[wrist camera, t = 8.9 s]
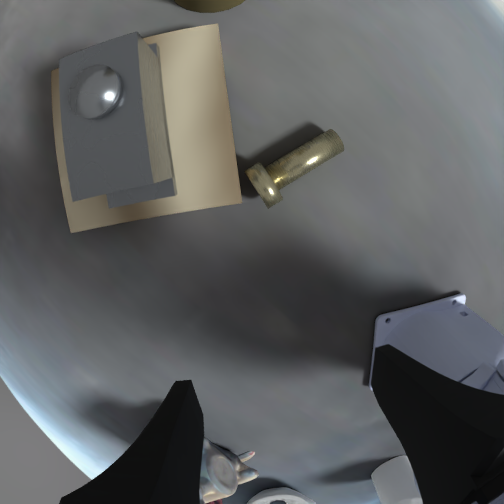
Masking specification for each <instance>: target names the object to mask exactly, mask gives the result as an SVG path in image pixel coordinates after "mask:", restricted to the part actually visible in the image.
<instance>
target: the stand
mask: <svg viewBox="0 0 504 504" xmlns="http://www.w3.org/2000/svg"><path fill="white" fill-rule="evenodd" d="M143 40H144V41H145V42H146V43H147V45H149V44H153V43H157V45H158V46H159V49H160V61H161V72H162V82H163V91H164V100H165V109H166V117H167V125H168V132H169V140H170V147H171V154H172V161H173V167H174V174H175V180H176V187H177V193H178V194H177V195H176V196H171V197H166V198H160V199H155V200H150V201H144V202H139V203H134V204H129V205H124V206H119V207H115V208H110V209H109V207H108V201H107V196H106V194H104V195H99V196H95V197H91V198H87V199H83V200H79V201H75V202H72V197H71V191H70V186H69V180H68V173H67V167H66V160H65V152H64V144H63V134H62V124H61V111H60V92H59V68H57V69H55V70H52V71H51V92H52V112H53V126H54V137H55V146H56V154H57V162H58V169H59V176H60V182H61V188H62V193H63V199H64V204H65V209H66V214H67V218H68V223H69V227H70V232H71V233H75V232H80V231H84V230H89V229H94V228H99V227H104V226H109V225H114V224H119V223H125V222H130V221H135V220H141V219H146V218H152V217H157V216H163V215H169V214H175V213H181V212H187V211H193V210H199V209H206V208H212V207H219V206H226V205H232V204H239V203H242V198H241V190H240V183H239V176H238V168H237V161H236V154H235V147H234V139H233V132H232V125H231V117H230V110H229V102H228V95H227V88H226V80H225V73H224V65H223V58H222V50H221V43H220V35H219V28H218V24H211V25H205V26H198V27H193V28H187V29H182V30H177V31H172V32H167V33H163V34H159V35H154V36H150V37H146V38H143Z"/></svg>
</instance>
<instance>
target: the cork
mask: <svg viewBox="0 0 504 504" xmlns="http://www.w3.org/2000/svg"><path fill="white" fill-rule="evenodd" d="M174 1H175V2H176V3H177V4H178V5H180V6H181V7H183V8H185V9H187V10H191V11H195V12H200V13H215V12H219V11H224V10H229V9H231V8H233V7H235V6H237V5H239V4H241V3H242V2H244V1H245V0H174Z"/></svg>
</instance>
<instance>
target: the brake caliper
mask: <svg viewBox="0 0 504 504" xmlns="http://www.w3.org/2000/svg"><path fill="white" fill-rule="evenodd" d="M254 454H255V452H253V451H249V452H246V453H244V454H241V455H238V456H237V455H235V454H234V453H232V452H230V451H227V450H224V449H222V448H220V447H218V446H217V445H215V444H213V443H212V442H211V441H209V440H207V438H205V437H204V442H203V453H202V463H201V474H200V490H199V493H200V504H222V498H225V497H229V496H231V495H233V494H234V493H235V491H236V489H237V486H238V485H239V484H242V483H245V482H248V481H250V480H253V479H255V478H257V477H258V475H259V473H258V471H257V470H255V469H252V468H250V467H248V466H246V465H245V464H243V463H242V462H244V461H246V460H248V459H250V458H251V457H252V456H253V455H254Z"/></svg>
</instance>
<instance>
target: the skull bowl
mask: <svg viewBox="0 0 504 504" xmlns="http://www.w3.org/2000/svg"><path fill="white" fill-rule="evenodd" d="M275 500H282V501H285V502H286V504H316V503H315V502H314V501H313V500H312V499H310V498H308V497H306V496H304V495H303V494H301V493H300V492H297V491H295V490H292V489H290V488H287V487H281V488H272V489H267V490H263V491H261V492H259V493H258V494H256V495H255V496H253V497H252V498H251V499H250V500H249V501H248V503H247V504H270V503H271V502H272V501H275Z"/></svg>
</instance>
